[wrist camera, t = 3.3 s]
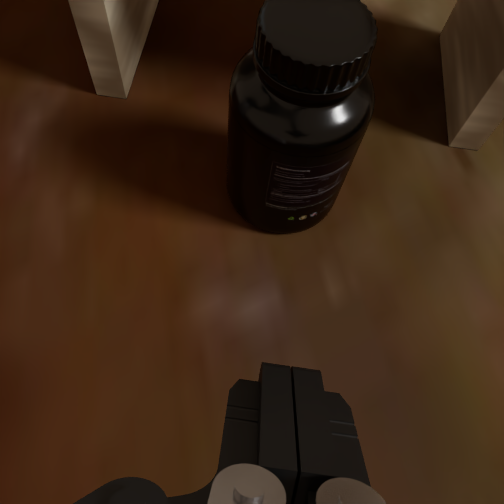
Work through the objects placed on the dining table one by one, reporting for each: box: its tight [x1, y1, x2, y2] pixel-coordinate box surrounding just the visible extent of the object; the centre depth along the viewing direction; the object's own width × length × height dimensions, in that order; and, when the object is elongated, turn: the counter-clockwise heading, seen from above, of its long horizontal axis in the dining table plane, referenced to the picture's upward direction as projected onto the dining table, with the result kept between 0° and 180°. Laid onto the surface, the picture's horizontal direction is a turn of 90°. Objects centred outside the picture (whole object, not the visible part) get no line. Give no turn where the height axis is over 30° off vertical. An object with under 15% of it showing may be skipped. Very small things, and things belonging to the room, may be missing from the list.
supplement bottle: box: [227, 0, 378, 234], centre depth 24 cm, size 7×7×12 cm
